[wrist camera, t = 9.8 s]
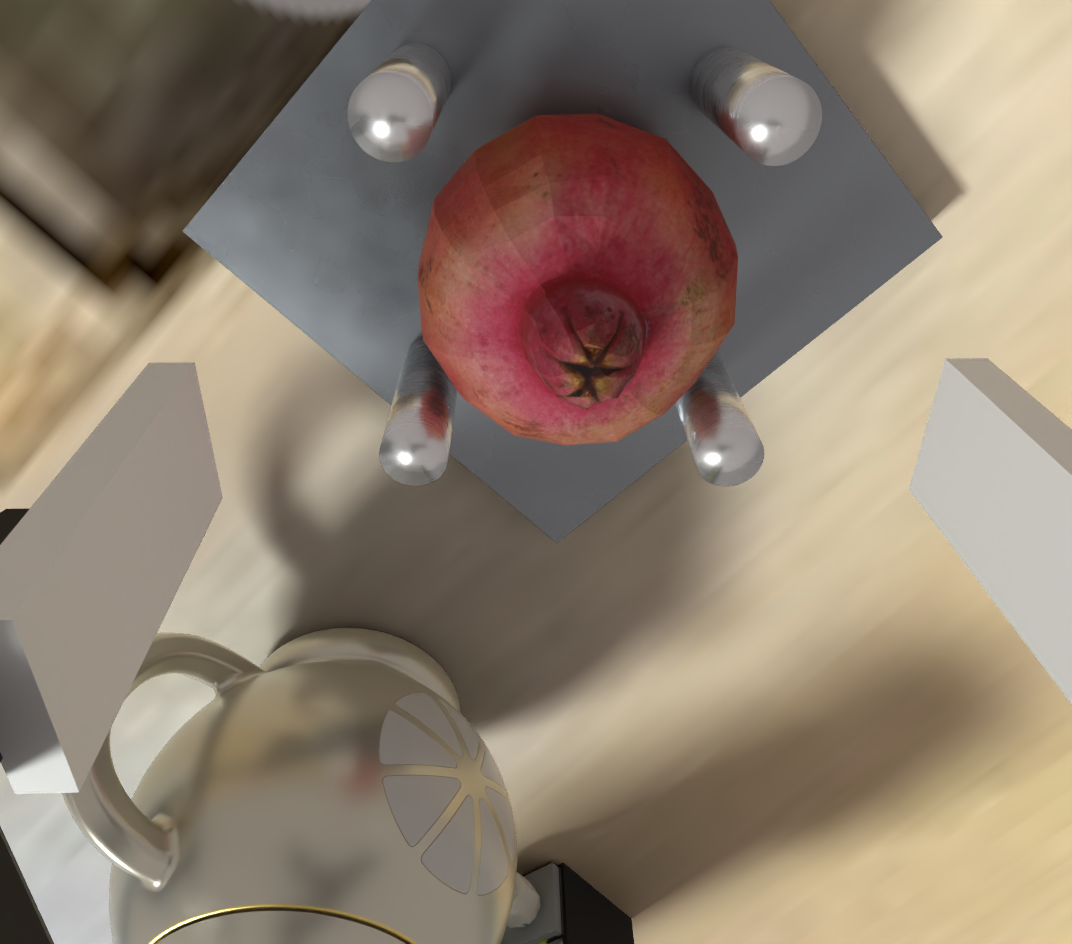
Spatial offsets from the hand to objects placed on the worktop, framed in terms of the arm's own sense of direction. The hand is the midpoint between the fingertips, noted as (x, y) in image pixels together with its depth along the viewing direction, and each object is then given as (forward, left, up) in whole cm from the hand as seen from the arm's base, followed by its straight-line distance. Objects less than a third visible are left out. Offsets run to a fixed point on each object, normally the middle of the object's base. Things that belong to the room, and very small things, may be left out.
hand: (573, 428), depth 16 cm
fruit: (0, 0, -12) cm, 12 cm away
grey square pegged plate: (0, 0, -13) cm, 13 cm away
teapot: (+7, -20, -14) cm, 25 cm away
